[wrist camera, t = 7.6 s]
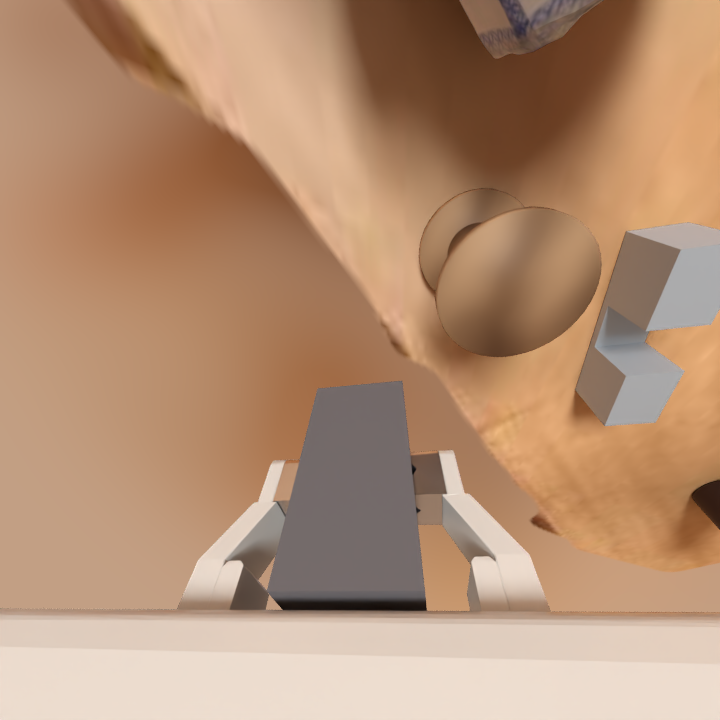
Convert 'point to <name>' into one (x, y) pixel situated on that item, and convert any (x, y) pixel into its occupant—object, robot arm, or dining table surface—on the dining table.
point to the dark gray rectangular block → (352, 509)
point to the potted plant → (523, 22)
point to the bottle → (709, 501)
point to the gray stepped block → (649, 319)
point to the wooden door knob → (507, 271)
